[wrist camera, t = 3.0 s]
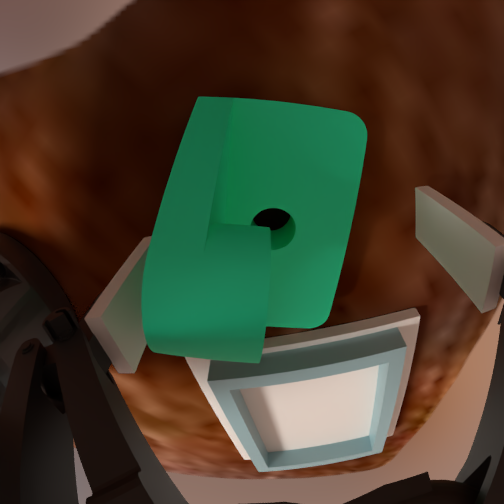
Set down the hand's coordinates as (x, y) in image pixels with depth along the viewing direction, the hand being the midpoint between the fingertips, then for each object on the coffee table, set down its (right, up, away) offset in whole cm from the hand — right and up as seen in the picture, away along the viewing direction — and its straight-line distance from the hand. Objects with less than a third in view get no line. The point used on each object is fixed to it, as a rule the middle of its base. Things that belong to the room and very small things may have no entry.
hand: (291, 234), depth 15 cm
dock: (+4, -14, +10) cm, 18 cm away
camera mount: (-1, +2, +3) cm, 3 cm away
